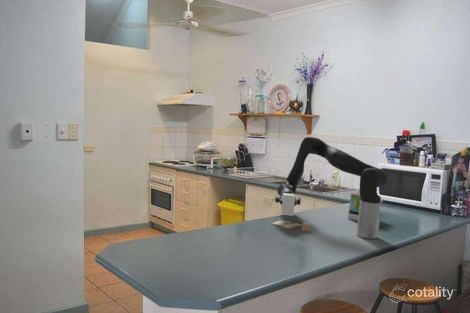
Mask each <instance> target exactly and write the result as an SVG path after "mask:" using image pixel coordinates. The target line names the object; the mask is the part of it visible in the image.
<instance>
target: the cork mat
mask: <svg viewBox="0 0 470 313" xmlns="http://www.w3.org/2000/svg"><path fill="white" fill-rule="evenodd" d="M271 225H273V226H277V227H281V228H286V229H289V230H292V229H295V228H297V227H300V226H302V224H301V223H298V222H293V221H290V220H289V221H288V220H285V219H281V220H278V221H274V222H271Z"/></svg>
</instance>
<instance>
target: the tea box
mask: <svg viewBox="0 0 470 313" xmlns="http://www.w3.org/2000/svg"><path fill="white" fill-rule="evenodd" d="M360 198H361V197H360V193H359V191H358V192H354V193H351V194H350V202H349V208H348V215H347V216H348V217H347V219H348V220H352V221H356V222H358V217H359V208H360Z"/></svg>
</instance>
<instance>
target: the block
mask: <svg viewBox="0 0 470 313" xmlns="http://www.w3.org/2000/svg"><path fill="white" fill-rule="evenodd" d="M301 226H302V227H301V230H302V232H309V233H310V231H311V223H310V222H304V221H303V222H302V224H301Z"/></svg>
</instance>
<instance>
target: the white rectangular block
mask: <svg viewBox="0 0 470 313" xmlns="http://www.w3.org/2000/svg"><path fill="white" fill-rule="evenodd" d="M295 198H296V193H295V194H289V193H283V198H282V199H283V202H282V205H281V208H280V210H281V211H280V214H281V216H283V215H284V216H291V217H292V216H293V217H294V212H295V206H294V203H295Z"/></svg>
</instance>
